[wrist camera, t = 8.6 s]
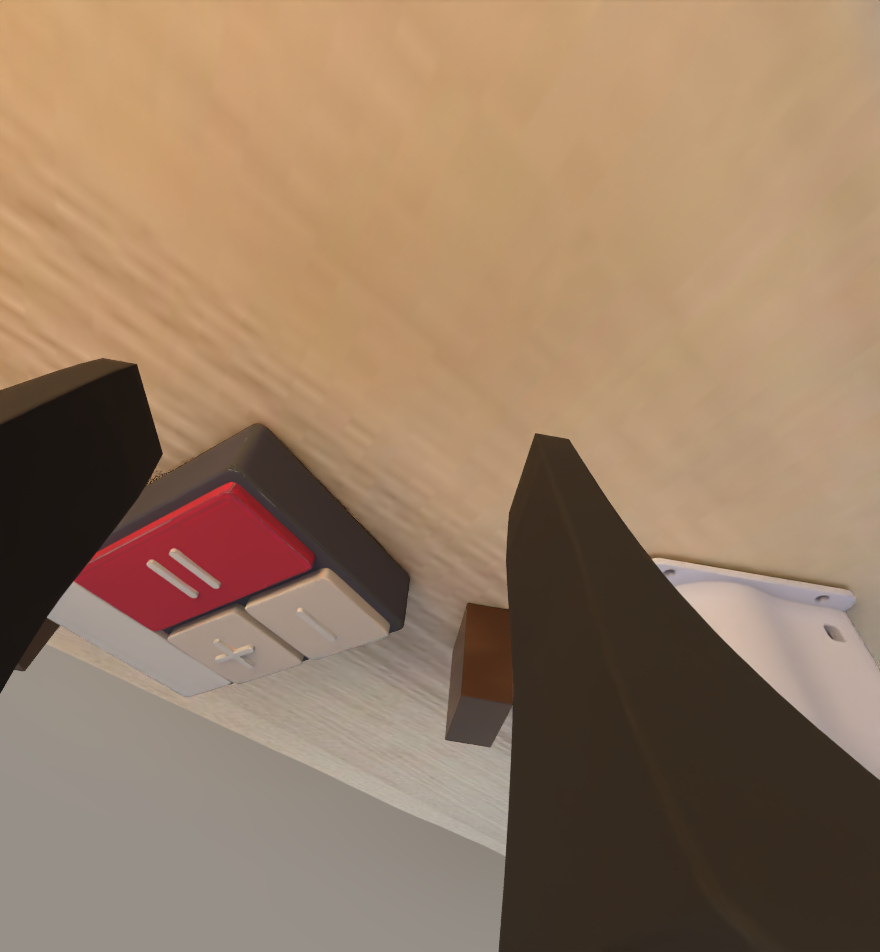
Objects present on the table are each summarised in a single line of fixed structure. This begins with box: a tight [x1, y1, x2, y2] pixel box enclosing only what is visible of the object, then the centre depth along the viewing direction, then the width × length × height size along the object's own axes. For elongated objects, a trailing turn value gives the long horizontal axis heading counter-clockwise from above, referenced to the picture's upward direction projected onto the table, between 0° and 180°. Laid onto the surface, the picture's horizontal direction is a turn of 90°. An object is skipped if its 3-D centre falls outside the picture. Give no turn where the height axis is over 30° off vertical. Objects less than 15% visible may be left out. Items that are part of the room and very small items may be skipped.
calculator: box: [47, 424, 410, 697], centre depth 24 cm, size 11×4×15 cm
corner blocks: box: [14, 603, 513, 747], centre depth 26 cm, size 26×5×5 cm, turn 82°
